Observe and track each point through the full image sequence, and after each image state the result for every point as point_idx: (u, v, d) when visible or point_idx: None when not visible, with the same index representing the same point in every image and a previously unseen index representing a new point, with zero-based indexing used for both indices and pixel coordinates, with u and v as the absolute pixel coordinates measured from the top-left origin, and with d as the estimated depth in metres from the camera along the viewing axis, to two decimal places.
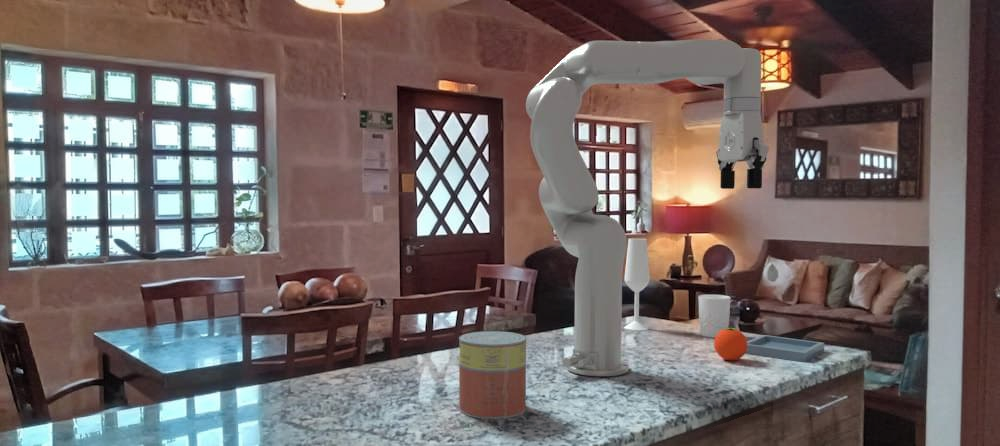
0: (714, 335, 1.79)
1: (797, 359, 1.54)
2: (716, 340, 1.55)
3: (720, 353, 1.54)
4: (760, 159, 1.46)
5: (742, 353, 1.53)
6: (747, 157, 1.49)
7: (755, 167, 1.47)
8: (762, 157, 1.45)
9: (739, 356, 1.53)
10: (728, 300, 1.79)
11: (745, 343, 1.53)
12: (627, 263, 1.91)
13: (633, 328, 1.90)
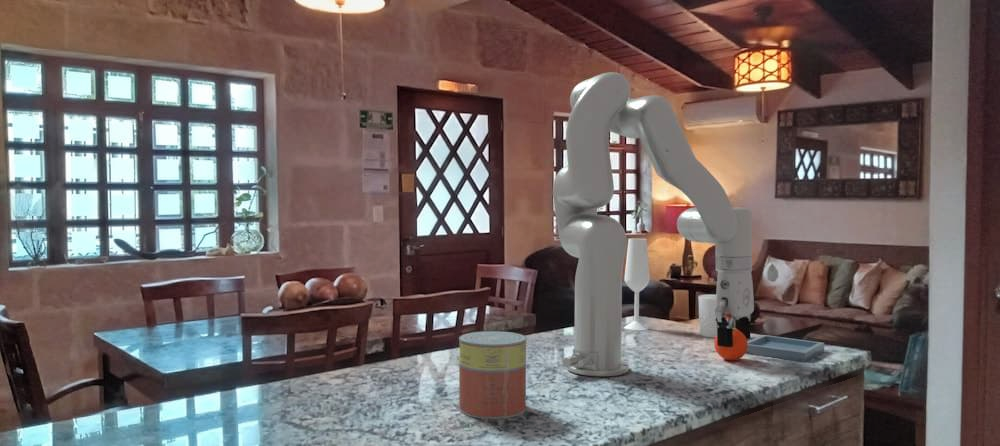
0: (714, 335, 1.79)
1: (797, 359, 1.54)
2: (716, 340, 1.55)
3: (720, 353, 1.54)
4: None
5: (742, 353, 1.53)
6: None
7: None
8: None
9: (739, 356, 1.53)
10: None
11: (745, 343, 1.53)
12: (627, 263, 1.91)
13: (633, 328, 1.90)
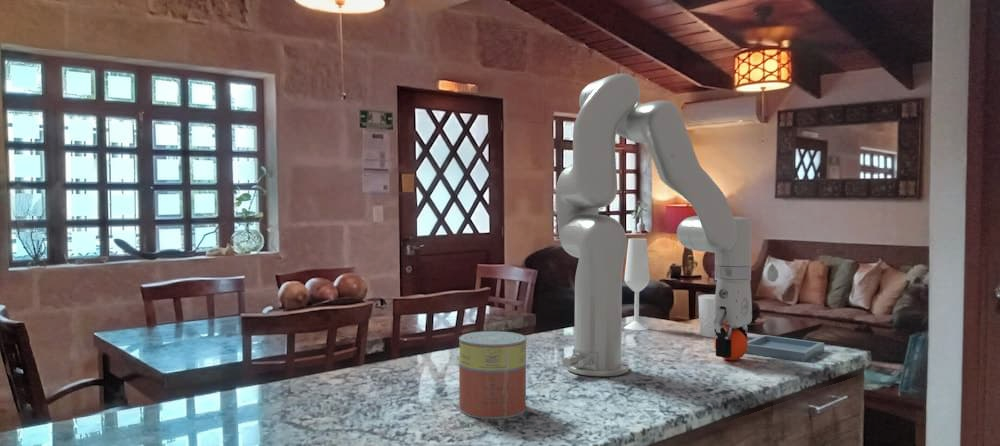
0: (714, 335, 1.79)
1: (797, 359, 1.54)
2: None
3: None
4: None
5: (742, 353, 1.53)
6: None
7: None
8: None
9: (739, 356, 1.53)
10: None
11: (745, 343, 1.53)
12: (627, 263, 1.91)
13: (633, 328, 1.90)
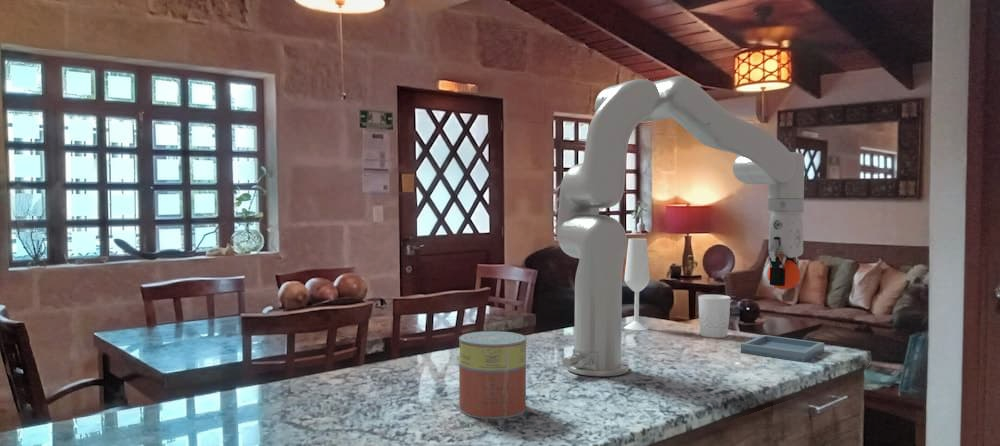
0: (714, 335, 1.79)
1: (797, 359, 1.54)
2: None
3: None
4: None
5: (795, 282, 1.60)
6: None
7: None
8: None
9: (792, 284, 1.60)
10: (728, 300, 1.79)
11: (798, 272, 1.60)
12: (627, 263, 1.91)
13: (633, 328, 1.90)
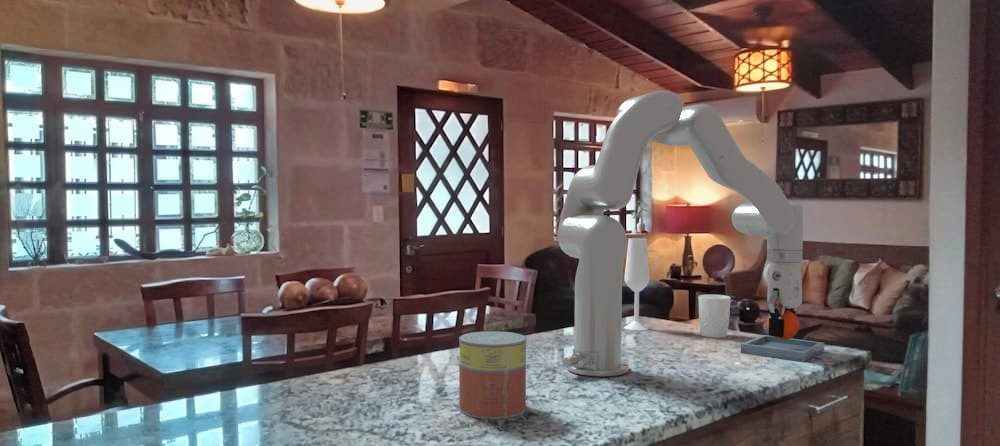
0: (714, 335, 1.79)
1: (797, 359, 1.54)
2: None
3: None
4: None
5: (794, 332, 1.60)
6: None
7: None
8: None
9: (791, 335, 1.60)
10: (728, 300, 1.79)
11: (797, 323, 1.60)
12: (627, 263, 1.91)
13: (633, 328, 1.90)
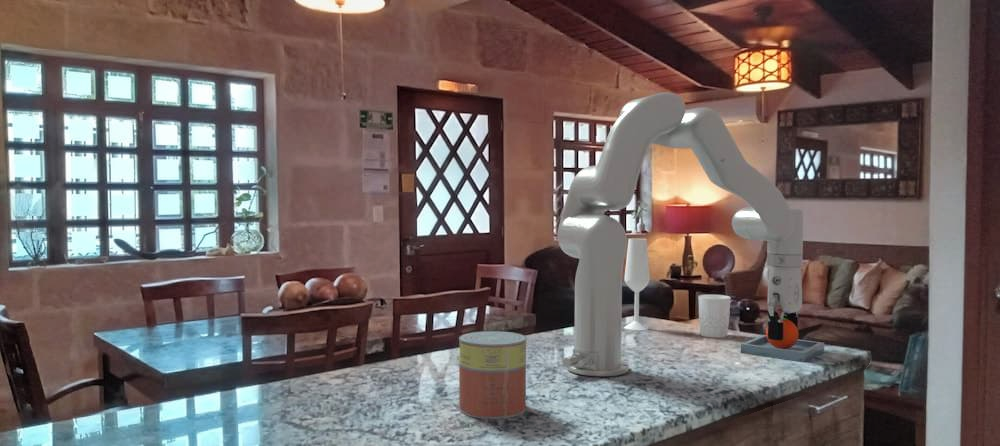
0: (714, 335, 1.79)
1: (797, 359, 1.54)
2: None
3: (772, 342, 1.62)
4: None
5: (794, 342, 1.60)
6: None
7: None
8: None
9: (791, 345, 1.60)
10: (728, 300, 1.79)
11: (797, 332, 1.60)
12: (627, 263, 1.91)
13: (633, 328, 1.90)
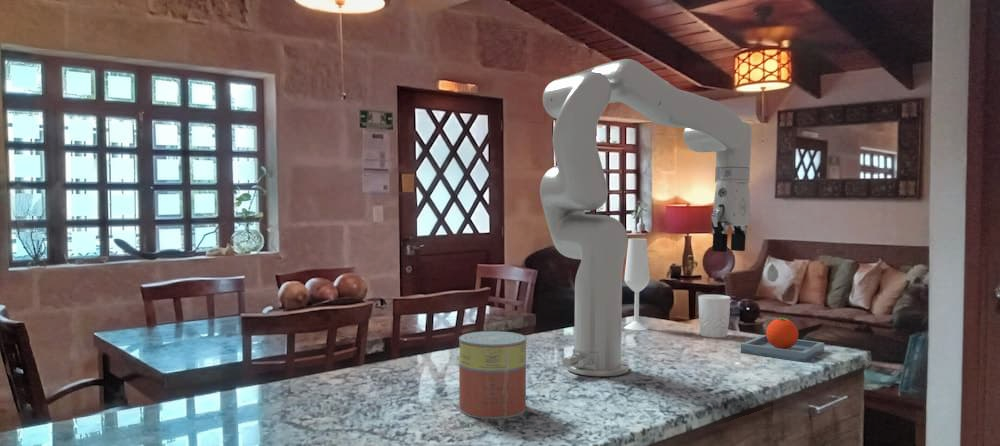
0: (714, 335, 1.79)
1: (797, 359, 1.54)
2: (768, 330, 1.62)
3: (772, 342, 1.62)
4: None
5: (794, 342, 1.60)
6: None
7: None
8: None
9: (791, 345, 1.60)
10: (728, 300, 1.79)
11: (796, 332, 1.60)
12: (627, 263, 1.91)
13: (633, 328, 1.90)
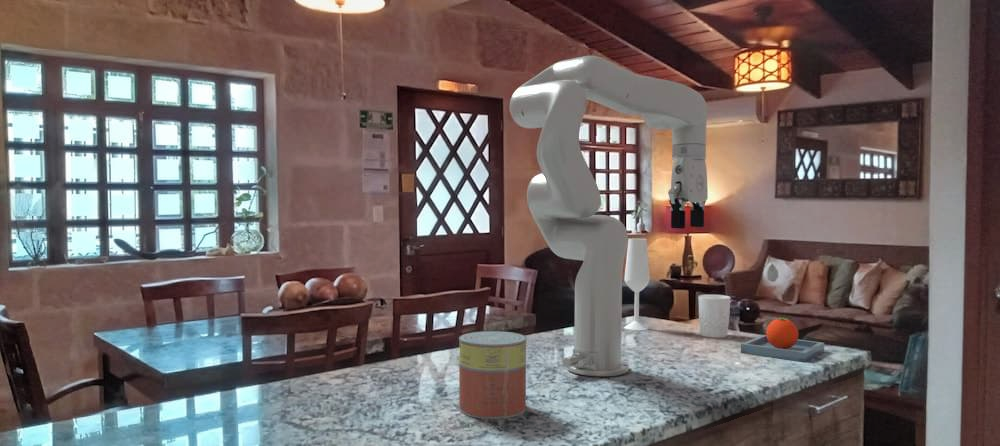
0: (714, 335, 1.79)
1: (797, 359, 1.54)
2: (768, 330, 1.62)
3: (772, 342, 1.62)
4: None
5: (794, 342, 1.60)
6: None
7: None
8: None
9: (791, 345, 1.60)
10: (728, 300, 1.79)
11: (796, 332, 1.60)
12: (627, 263, 1.91)
13: (633, 328, 1.90)
